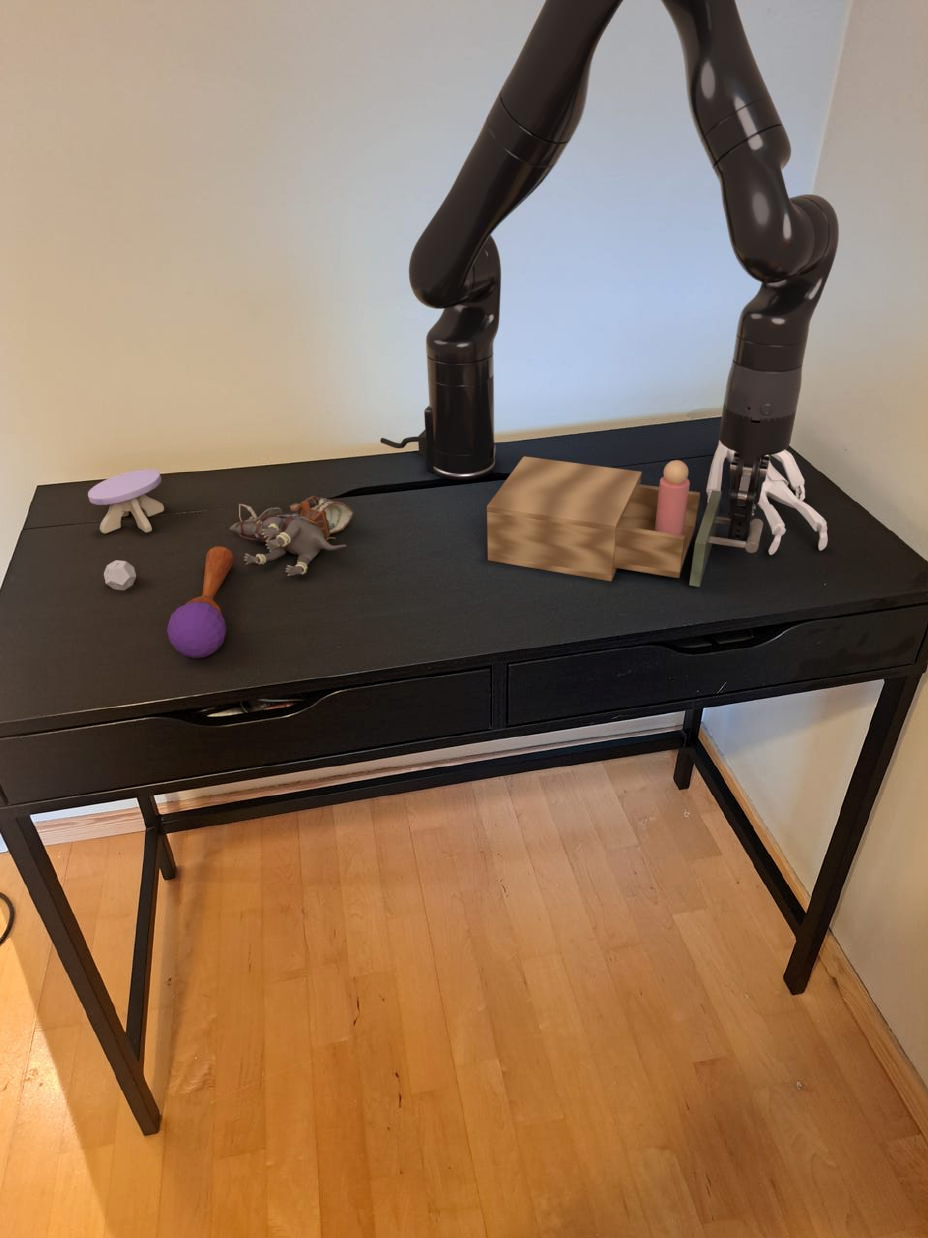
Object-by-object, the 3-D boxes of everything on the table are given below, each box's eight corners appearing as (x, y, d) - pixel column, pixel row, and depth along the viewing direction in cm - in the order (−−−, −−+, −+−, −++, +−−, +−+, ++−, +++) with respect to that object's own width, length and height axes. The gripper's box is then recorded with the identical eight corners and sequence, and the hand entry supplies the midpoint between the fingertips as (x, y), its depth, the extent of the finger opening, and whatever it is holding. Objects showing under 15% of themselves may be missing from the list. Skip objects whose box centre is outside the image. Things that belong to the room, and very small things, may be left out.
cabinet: (636, 524, 118) (641, 471, 113) (611, 581, 106) (615, 525, 102) (523, 507, 122) (523, 456, 118) (487, 560, 111) (486, 506, 107)
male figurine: (844, 560, 112) (771, 450, 130) (859, 521, 108) (781, 412, 126) (739, 569, 111) (680, 457, 129) (750, 530, 107) (687, 420, 125)
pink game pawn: (650, 548, 108) (659, 465, 102) (656, 535, 111) (665, 453, 105) (679, 553, 107) (689, 469, 101) (683, 539, 110) (694, 457, 104)
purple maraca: (245, 539, 109) (222, 622, 92) (244, 582, 112) (221, 670, 95) (195, 534, 108) (162, 617, 91) (195, 577, 111) (162, 666, 94)
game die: (101, 592, 108) (95, 571, 106) (118, 576, 111) (112, 555, 109) (128, 595, 107) (121, 574, 105) (143, 579, 110) (138, 558, 108)
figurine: (191, 521, 110) (270, 467, 123) (203, 564, 114) (279, 507, 126) (327, 543, 103) (397, 483, 115) (336, 588, 106) (403, 525, 118)
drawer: (760, 539, 112) (768, 497, 108) (748, 595, 102) (756, 551, 98) (603, 515, 118) (606, 475, 115) (577, 566, 108) (579, 524, 104)
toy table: (159, 498, 127) (150, 461, 124) (180, 523, 121) (171, 485, 118) (89, 518, 123) (78, 480, 120) (107, 545, 117) (95, 506, 114)
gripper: (732, 377, 102) (712, 512, 112) (715, 421, 92) (695, 565, 102) (801, 384, 100) (775, 521, 110) (792, 429, 90) (764, 576, 100)
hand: (736, 542), depth 106 cm, fingers closed
